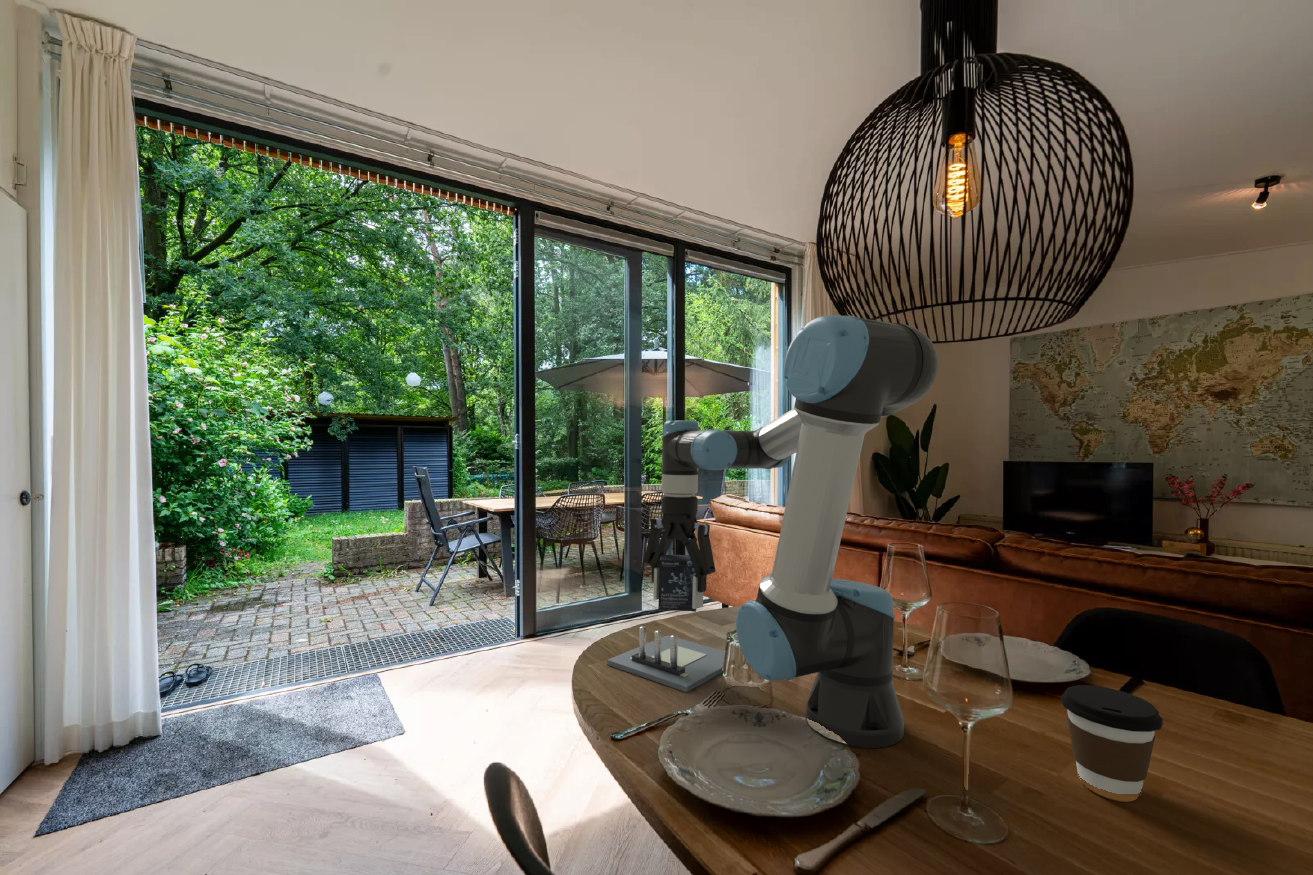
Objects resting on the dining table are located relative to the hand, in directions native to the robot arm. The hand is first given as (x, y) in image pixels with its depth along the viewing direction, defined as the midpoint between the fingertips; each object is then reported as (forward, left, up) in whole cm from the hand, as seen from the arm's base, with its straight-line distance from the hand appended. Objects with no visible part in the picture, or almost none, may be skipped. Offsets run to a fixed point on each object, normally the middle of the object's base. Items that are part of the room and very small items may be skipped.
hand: (677, 602), depth 122 cm
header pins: (0, +7, -11) cm, 13 cm away
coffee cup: (-71, -2, -13) cm, 72 cm away
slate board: (0, +1, -12) cm, 12 cm away
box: (0, 0, -1) cm, 1 cm away
